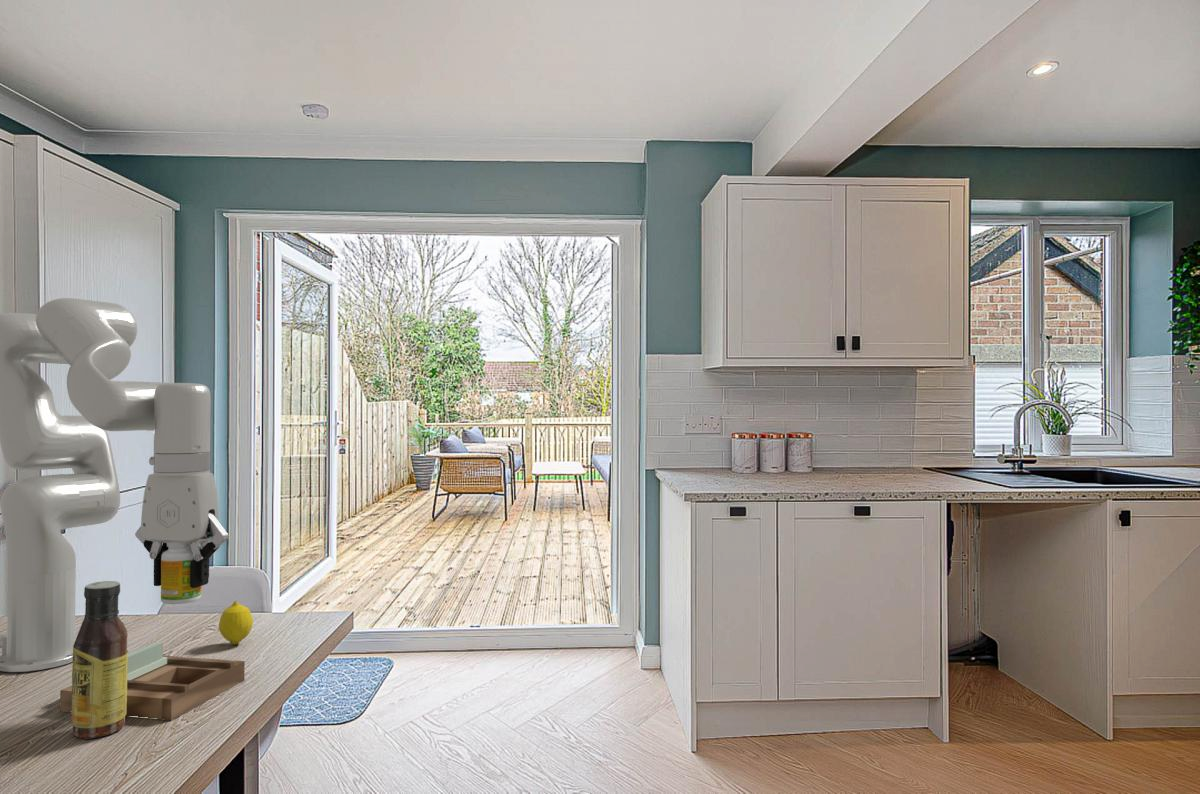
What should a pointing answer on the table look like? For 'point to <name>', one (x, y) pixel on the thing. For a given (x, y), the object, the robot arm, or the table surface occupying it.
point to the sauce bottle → (100, 665)
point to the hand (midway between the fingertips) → (181, 583)
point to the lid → (145, 660)
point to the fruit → (235, 623)
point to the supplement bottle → (177, 574)
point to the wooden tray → (175, 686)
